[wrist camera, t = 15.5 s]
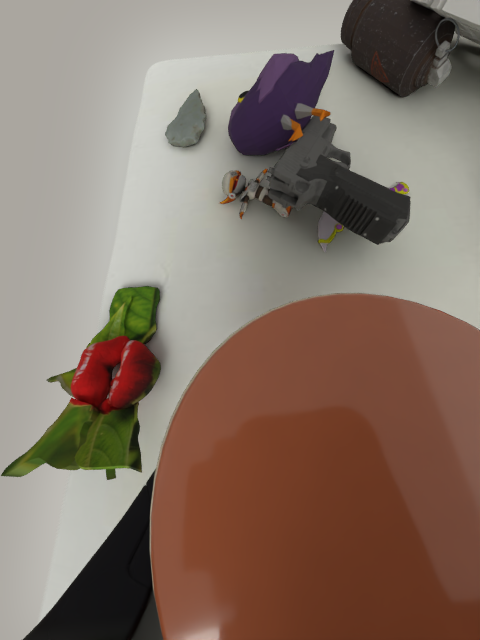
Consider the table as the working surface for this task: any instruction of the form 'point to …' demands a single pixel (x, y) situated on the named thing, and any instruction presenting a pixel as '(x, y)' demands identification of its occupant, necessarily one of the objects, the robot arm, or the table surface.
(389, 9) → the grenade
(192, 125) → the stone tool
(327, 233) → the decorative knife
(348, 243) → the table surface
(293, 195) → the handgun
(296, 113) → the toy
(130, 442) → the decorative ornament
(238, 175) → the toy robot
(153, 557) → the tumbler
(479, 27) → the emblem
